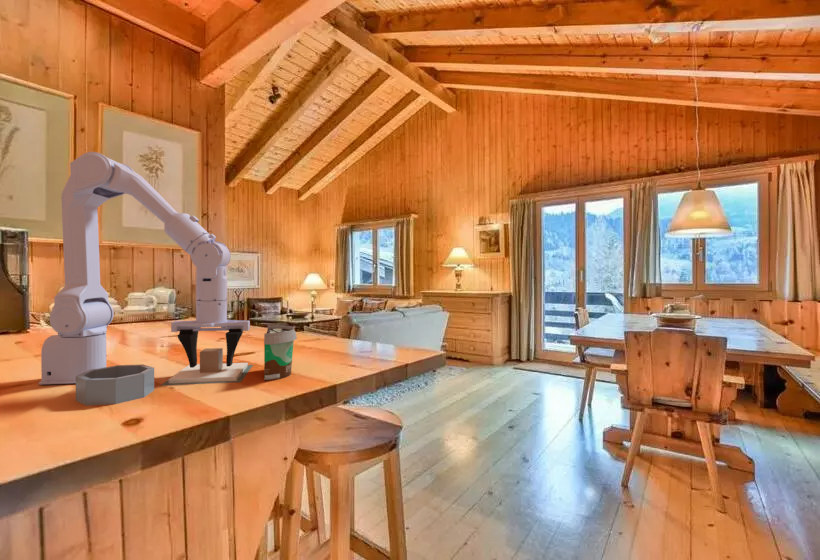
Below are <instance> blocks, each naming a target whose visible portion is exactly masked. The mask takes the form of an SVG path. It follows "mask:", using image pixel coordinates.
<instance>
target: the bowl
mask: <svg viewBox="0 0 820 560" xmlns="http://www.w3.org/2000/svg"><path fill="white" fill-rule="evenodd" d="M154 391H155V367H153V366H151V365H150V366H149V365H146V364H142V363H141V364H118V365H117V364H116V365H111V366H106V367H104V368H98V369H92V370H88V371H86V372H84V373H82V374H79V375H77V376H76V383H75V401H76V402H78V403H80V404H82V405H85V406H86V407H87V406H104V405H105V406H106V405H118V404H123V403H127V402H131V401H135V400H140V399H142V398H146V397H147V396H148V395H150V394H151V393H153V392H154Z"/></svg>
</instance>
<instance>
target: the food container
mask: <svg viewBox="0 0 820 560" xmlns="http://www.w3.org/2000/svg"><path fill="white" fill-rule="evenodd" d="M263 334H264V336H263V338H264V339H263V344H264V350H263V351H264V352H263V353H264V355H263V356H264V359H263V361H264V363H263V366H264V371H263V372H264V379H263V380H264V381H263V382H272V381H276V380H282V379H285V378H288V377H289V376H291V375H292V368H293V367H292V364H293V353H294V341H296V340H297V339H298V337H297V332H296V330H295V328H294V326H293V327H292V326H288V325H276V324H275V325H267V330H266V333H263Z"/></svg>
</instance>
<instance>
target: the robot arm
mask: <svg viewBox="0 0 820 560" xmlns="http://www.w3.org/2000/svg"><path fill="white" fill-rule="evenodd" d="M69 166H70V167H69V168H70V170H69V171H70V175H69V177H68V179H67V181H66V183H65V185H64V187H63V189H62V192H61V196H60V198H61V217H62V218H61V219H62V220H61V222H62V243H63V244H62V245H63V266H64V268H63V269H64V270H63V271H64V286H63V288H61V289H60V291H58V292H57V293H56V294H55V295H54V297H53V301H54V303H53V307H52V310H51V311H50V314H49V324H50V327H51V328H52V329H53V331H55V332H56V333H57V334H54V335H49V336H48V337H47V338H46V339H45V340H44V341H43V344H42V346H41V352H40V353H41V355H40V357H41V360H40V361H41V362H40V363H41V366H40V367H41V370H40V371H41V380H40V381H39V382H38V385H42V386H43V385H62V384H65V385H67V384H68V385H69V384H76V376H77V375H79V374H82V373H84V372H86V371H88V370H92V369H98V368H104V367H107V331H108V326H109V325H110V324H111V323H112V321H113V319H114V315H115V312H114V308H113V306H112V305H111V303H110V299H109V293H108V292H107V290H106V289H105V288H104V287H103V285H101V284H102V283H101V263H100V242H99V241H100V239H99V238H100V237H99V236H100V235H99V213H98V209H99V207H100V206H103V204H105V203H106V202H107V201H108V200H111V199H114V198H117V197H120V196H123V195H129V196H132V197H133V198H134V199H135V200H136V201H138V202H139V203H140V204H142V206H144V207H145V208H146V209H147V210H148V211H150V212H151V213H152V214H153V215H154V216H155V217H156V218H158V220H160V221H161V222H162V223H163V225H164V229H163V231H164V233H165V234H166V235H167V236H168V237H169V238H170V239H171V240H172V241H174V242H175V243H176V244H177V245H178V246H179V247H180V248H181V249H183V250H184V251H185V253H186V254H188V255H189V256H190V259H191V262H192V264H193V265H194V266H195V267H196V269H195V270H196V271H195V272H196V278H195V320H176V321H175V320H174V321H172V322H171V325H170V330H171V331H170V332H171V333H178V332H179V333H178V334H177V338H178V340H179V342H180V343H181V345H182V347H183V349H184V351H185V353H186V356H187V359H188V360H187V361H188V365H189V364H190V368H194V367H195V366H196V365H197V364H198V351H197V348H198V337H199V332H218V331H220V332H222V331H224V332H226V331H228V332H226V333H225V340H226V359H225V360H226V361H225V363H226V365H227V366H231V365H232V363H233V361H234V356H235V352H236V349H237V346H238V344H239V342H240V339H241V337H242V335H243V333H244V332H246V331H247V332H248V331H250V329H251V323H250V320H236V319H228V278H227V277H228V276H227V275H228V273H227V272H228V271H227V269H228V267H227V266H228V265H229V264H230V261H231V259H232V258H231V257H232V255H231V252H230V249H229V248H228V247H227V245H226V243H223V242H220V241H216V238H217V236H216V235H215V234H213V233H209V231H207V230H206V229H205V228H204V227H203V226H202V225H201V224H200V223H199V222H200V219H199V218H198V217H197V216H195V215H193V214H192V215H190V214H188V213H186V212H184V213H183V212H182V213H181V212H178V211H177V210H175V208H174V207H172V206H171V204H170V203H169V202H168V201H167V200H165V198H163V196H162V195H161V194H160V193H159V192H158V191H157V190H156V189H155V188H154V187H153V186H152V185H151V184H150V183H149V182H148V181H147V180H146V179H145V177H143V176H142V175H140V174H139V173H137V172H136V171H134V169H132V167H130V166H129V165H126V164H124V163H121V162H118V161H115V160H114V159H111V158H110V157H107V156H106V155H104V154H102V153H100V152H96V151H88V152H85V153H83V154H81V155H80V156H78V157H77V158H76V159H75V158H74V160H72V161H71V162H70V163H69Z"/></svg>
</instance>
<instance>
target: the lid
mask: <svg viewBox="0 0 820 560" xmlns="http://www.w3.org/2000/svg"><path fill="white" fill-rule="evenodd" d="M223 349H224V348H223V347H220V348H219V347H217V348H216V347H215V348H204V349H202V350H200V351H199V363H197V365H196V366H195V367H194V368H190V364H189V363H188V365H187V366H185V367H183V368H182V369H181V370H180V371H178V372H176V374H174V375H173V376H171V377H169V378H168V380H169V383H194V382H218V381H237V379H238V378H239V377H240V376H241V374H242V373H243V372H244V370H245V369H246V368H247V366H248V365H249V363H248V362H234V363H233V362H232V365H231V366H227V365H226V362H224V358H223V357H224V352H223V351H224V350H223Z"/></svg>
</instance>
